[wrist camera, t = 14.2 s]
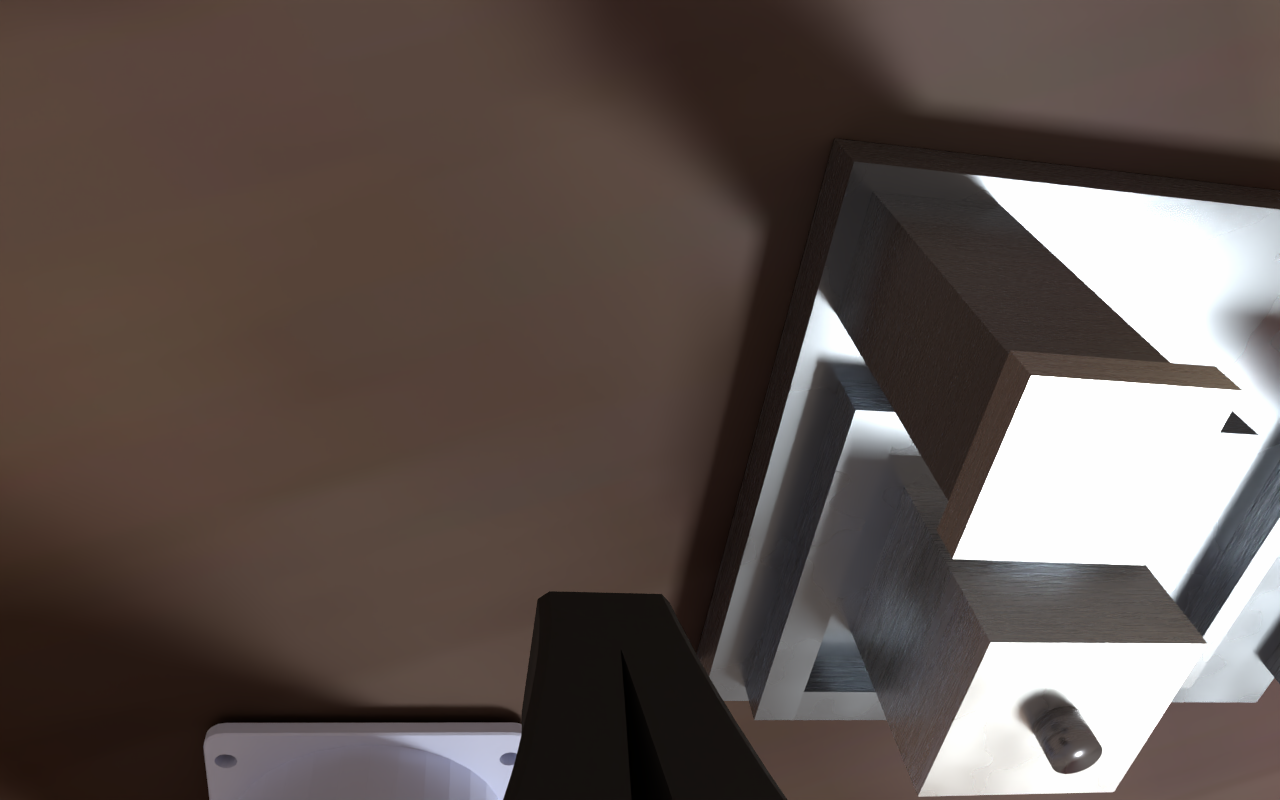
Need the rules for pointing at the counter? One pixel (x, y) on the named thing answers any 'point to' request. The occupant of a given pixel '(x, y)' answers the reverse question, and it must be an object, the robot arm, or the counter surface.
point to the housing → (1016, 663)
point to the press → (1011, 409)
